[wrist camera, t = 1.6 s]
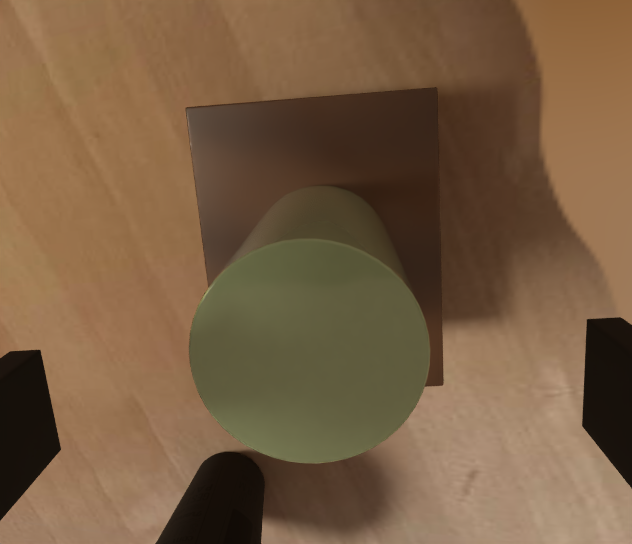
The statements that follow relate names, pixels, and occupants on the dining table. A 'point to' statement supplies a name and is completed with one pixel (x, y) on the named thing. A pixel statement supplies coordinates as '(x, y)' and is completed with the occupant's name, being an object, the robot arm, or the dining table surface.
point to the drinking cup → (220, 504)
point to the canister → (311, 332)
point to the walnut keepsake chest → (327, 175)
